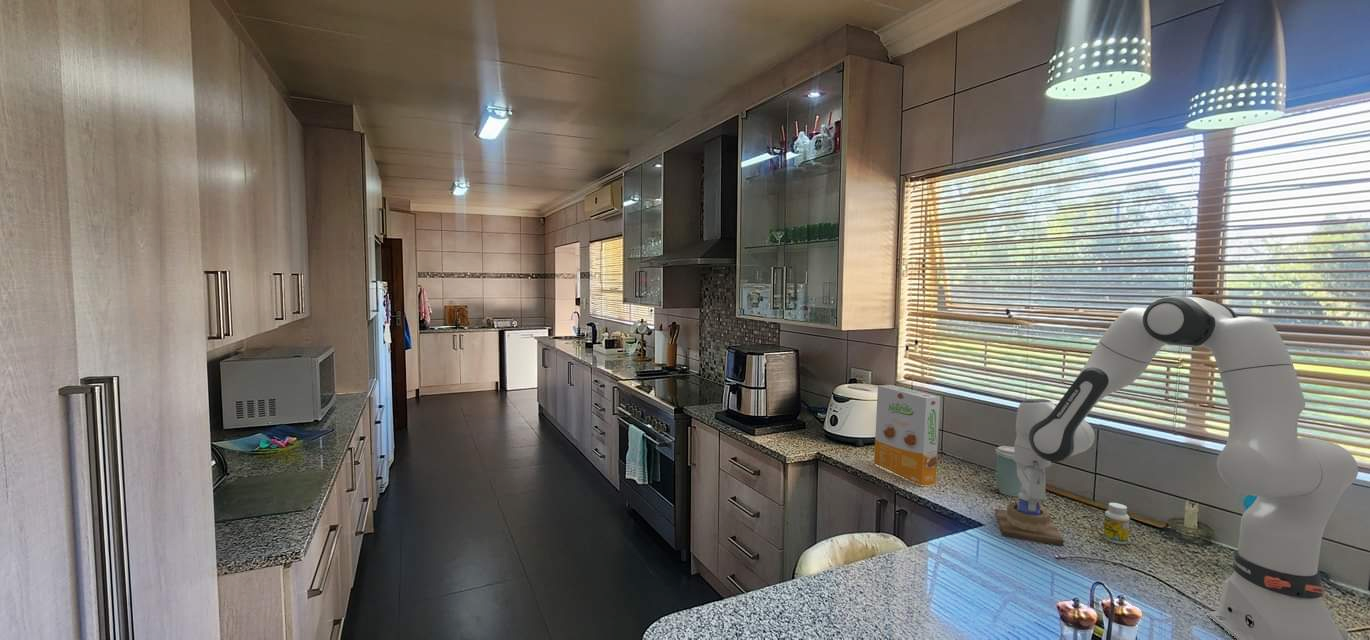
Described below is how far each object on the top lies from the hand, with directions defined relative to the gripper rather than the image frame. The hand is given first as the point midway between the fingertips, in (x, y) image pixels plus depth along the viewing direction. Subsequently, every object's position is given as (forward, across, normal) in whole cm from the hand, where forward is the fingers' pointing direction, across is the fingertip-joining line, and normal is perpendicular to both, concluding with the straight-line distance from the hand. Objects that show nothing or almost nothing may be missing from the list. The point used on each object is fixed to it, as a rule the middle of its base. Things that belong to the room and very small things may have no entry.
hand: (1029, 505), depth 160 cm
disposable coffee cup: (+7, +29, 0) cm, 30 cm away
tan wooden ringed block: (+7, 0, 0) cm, 7 cm away
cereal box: (+7, +33, +33) cm, 47 cm away
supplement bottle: (+7, +2, -21) cm, 22 cm away
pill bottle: (+5, 0, 0) cm, 5 cm away
